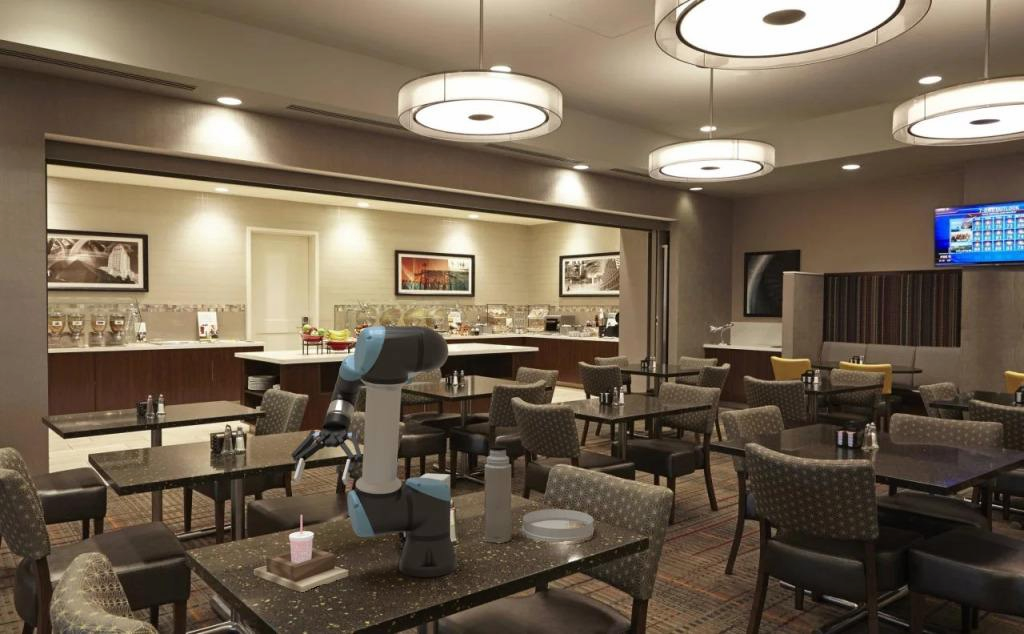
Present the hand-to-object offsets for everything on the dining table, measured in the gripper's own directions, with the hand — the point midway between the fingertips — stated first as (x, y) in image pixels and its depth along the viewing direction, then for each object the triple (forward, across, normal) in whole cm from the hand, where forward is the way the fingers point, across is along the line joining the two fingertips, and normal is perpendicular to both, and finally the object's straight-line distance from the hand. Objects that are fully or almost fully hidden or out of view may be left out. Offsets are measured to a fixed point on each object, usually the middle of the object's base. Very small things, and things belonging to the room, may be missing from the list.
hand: (320, 481), depth 193 cm
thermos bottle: (0, -47, -30) cm, 56 cm away
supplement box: (-12, -24, -42) cm, 50 cm away
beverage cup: (+23, 0, -5) cm, 24 cm away
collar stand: (+24, 0, -6) cm, 25 cm away
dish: (-5, -65, -36) cm, 74 cm away
